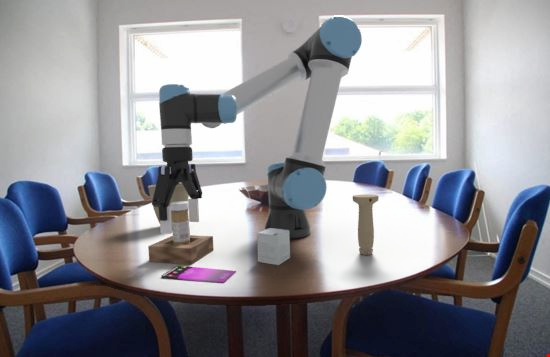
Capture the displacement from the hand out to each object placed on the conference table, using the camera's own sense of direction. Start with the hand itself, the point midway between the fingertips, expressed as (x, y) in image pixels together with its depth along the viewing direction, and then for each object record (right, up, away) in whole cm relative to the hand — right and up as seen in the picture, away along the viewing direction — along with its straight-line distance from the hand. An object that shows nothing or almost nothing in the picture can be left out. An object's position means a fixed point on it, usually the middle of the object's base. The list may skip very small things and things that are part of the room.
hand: (181, 227), depth 87 cm
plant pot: (-14, -6, +38) cm, 41 cm away
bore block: (0, -8, +1) cm, 8 cm away
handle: (+48, -7, -2) cm, 49 cm away
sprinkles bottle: (0, -7, 0) cm, 7 cm away
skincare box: (+25, -8, -5) cm, 26 cm away
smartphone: (+8, -9, -14) cm, 18 cm away
